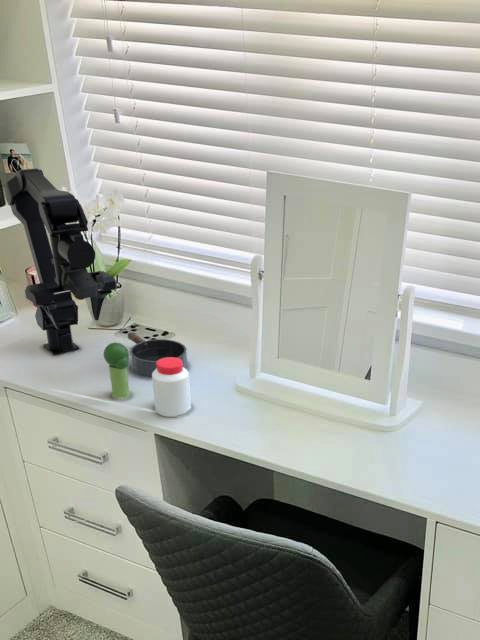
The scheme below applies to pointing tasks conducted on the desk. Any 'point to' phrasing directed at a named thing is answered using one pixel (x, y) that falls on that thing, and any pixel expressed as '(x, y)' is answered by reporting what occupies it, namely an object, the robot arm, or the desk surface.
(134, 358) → the pan
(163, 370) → the pill bottle
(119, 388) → the broccoli
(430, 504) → the desk surface
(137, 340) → the pan handle
